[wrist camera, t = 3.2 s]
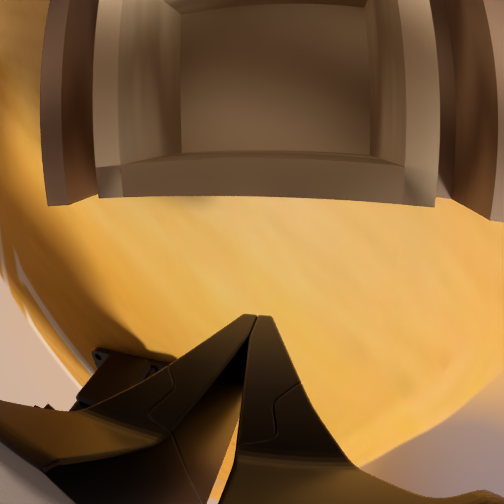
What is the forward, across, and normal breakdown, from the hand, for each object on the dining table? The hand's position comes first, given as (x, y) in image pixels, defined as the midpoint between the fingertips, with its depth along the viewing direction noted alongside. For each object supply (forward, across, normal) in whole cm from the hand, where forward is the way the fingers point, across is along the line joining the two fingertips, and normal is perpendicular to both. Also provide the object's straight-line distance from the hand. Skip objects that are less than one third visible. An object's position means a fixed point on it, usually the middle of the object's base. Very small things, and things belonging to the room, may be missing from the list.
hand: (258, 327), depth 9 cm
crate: (+3, 0, -8) cm, 8 cm away
